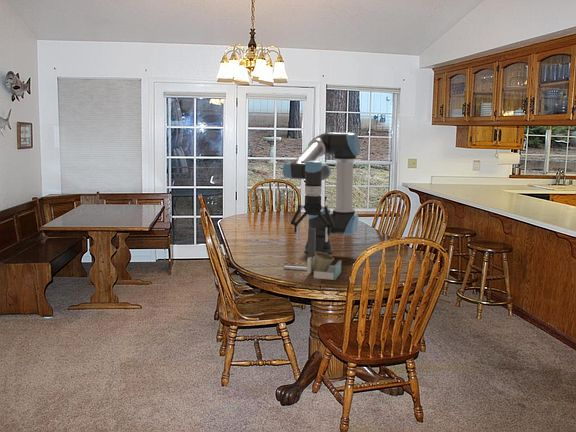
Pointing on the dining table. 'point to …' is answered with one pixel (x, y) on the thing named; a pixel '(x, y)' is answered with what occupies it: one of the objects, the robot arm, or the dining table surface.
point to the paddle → (311, 249)
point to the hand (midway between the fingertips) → (312, 240)
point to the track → (295, 268)
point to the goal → (329, 272)
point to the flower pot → (322, 261)
